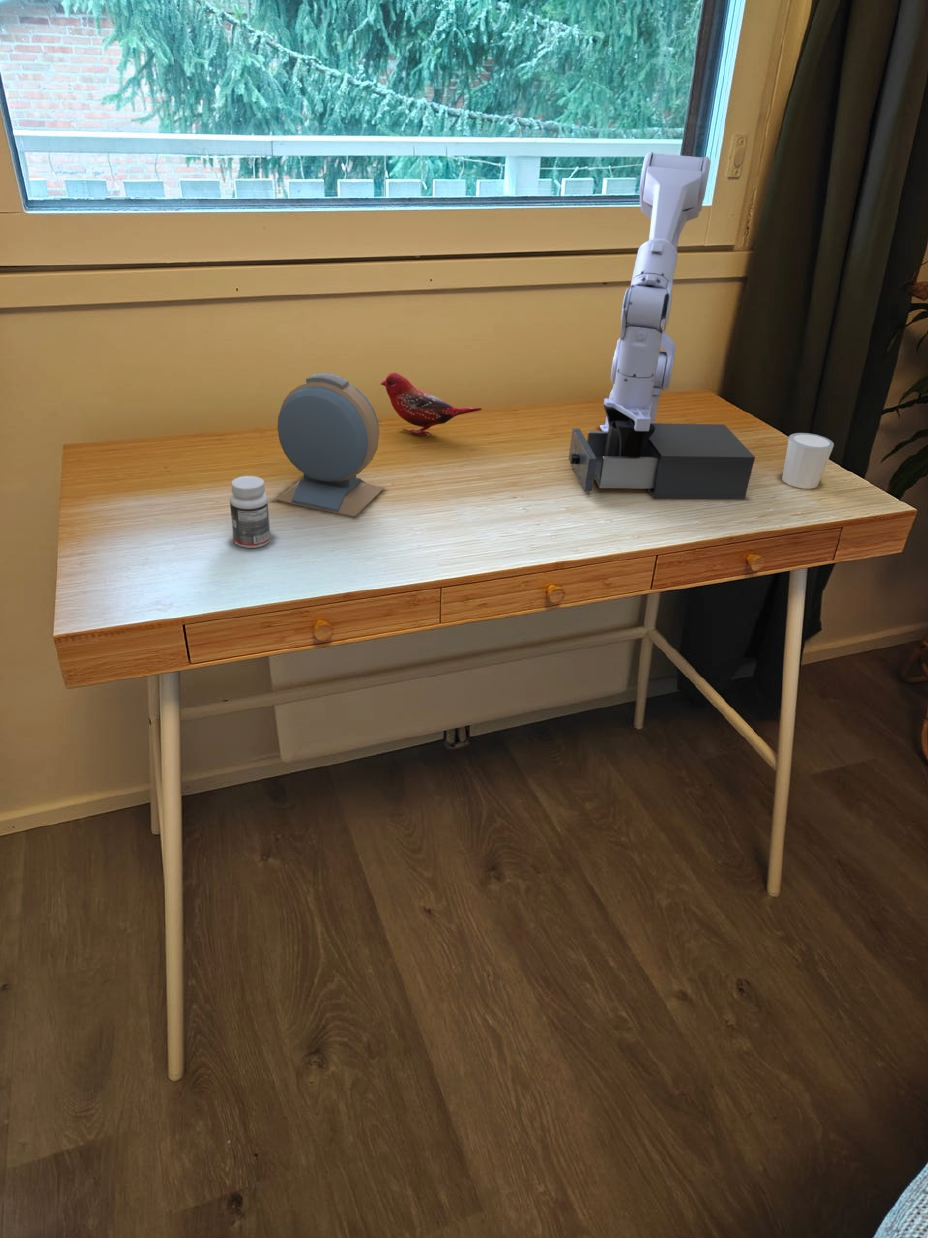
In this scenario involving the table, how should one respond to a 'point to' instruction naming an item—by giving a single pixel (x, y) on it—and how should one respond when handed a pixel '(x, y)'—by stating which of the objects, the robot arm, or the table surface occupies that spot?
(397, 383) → the decorative bird figurine
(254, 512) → the pill bottle
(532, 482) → the table surface
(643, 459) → the drawer
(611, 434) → the dark grey faceted cup
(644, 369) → the robot arm
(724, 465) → the dark grey cabinet
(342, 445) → the alarm clock
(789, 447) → the white cylinder
